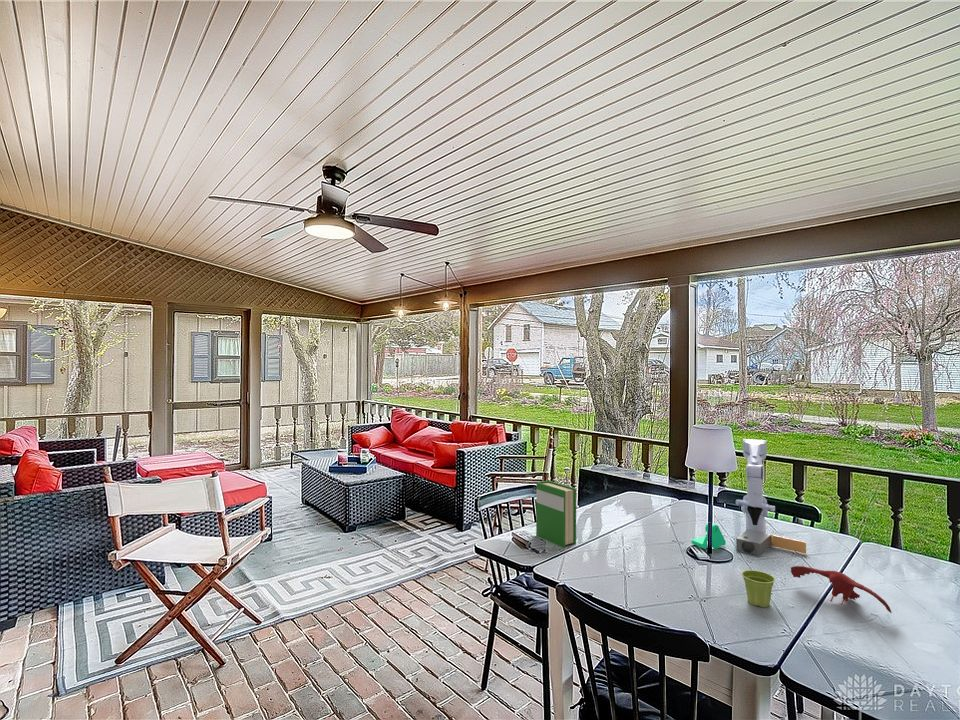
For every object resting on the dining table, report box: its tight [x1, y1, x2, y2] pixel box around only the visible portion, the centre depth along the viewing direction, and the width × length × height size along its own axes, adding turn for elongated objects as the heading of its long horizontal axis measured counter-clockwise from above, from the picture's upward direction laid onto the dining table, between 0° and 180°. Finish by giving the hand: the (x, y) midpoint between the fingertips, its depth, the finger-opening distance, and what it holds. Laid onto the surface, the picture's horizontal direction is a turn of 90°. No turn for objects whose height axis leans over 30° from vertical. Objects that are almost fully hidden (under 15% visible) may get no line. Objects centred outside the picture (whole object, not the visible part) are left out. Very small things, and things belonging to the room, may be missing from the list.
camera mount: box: [691, 523, 726, 550], centre depth 204 cm, size 12×8×10 cm, turn 115°
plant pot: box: [741, 569, 776, 608], centre depth 154 cm, size 9×9×9 cm
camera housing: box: [735, 529, 772, 557], centre depth 202 cm, size 17×9×6 cm, turn 135°
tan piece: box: [771, 534, 807, 555], centre depth 200 cm, size 13×2×4 cm, turn 47°
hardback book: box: [535, 479, 577, 549], centre depth 211 cm, size 18×7×24 cm, turn 34°
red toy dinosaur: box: [790, 565, 893, 614], centre depth 155 cm, size 28×9×15 cm
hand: (755, 524), depth 204 cm, fingers closed
